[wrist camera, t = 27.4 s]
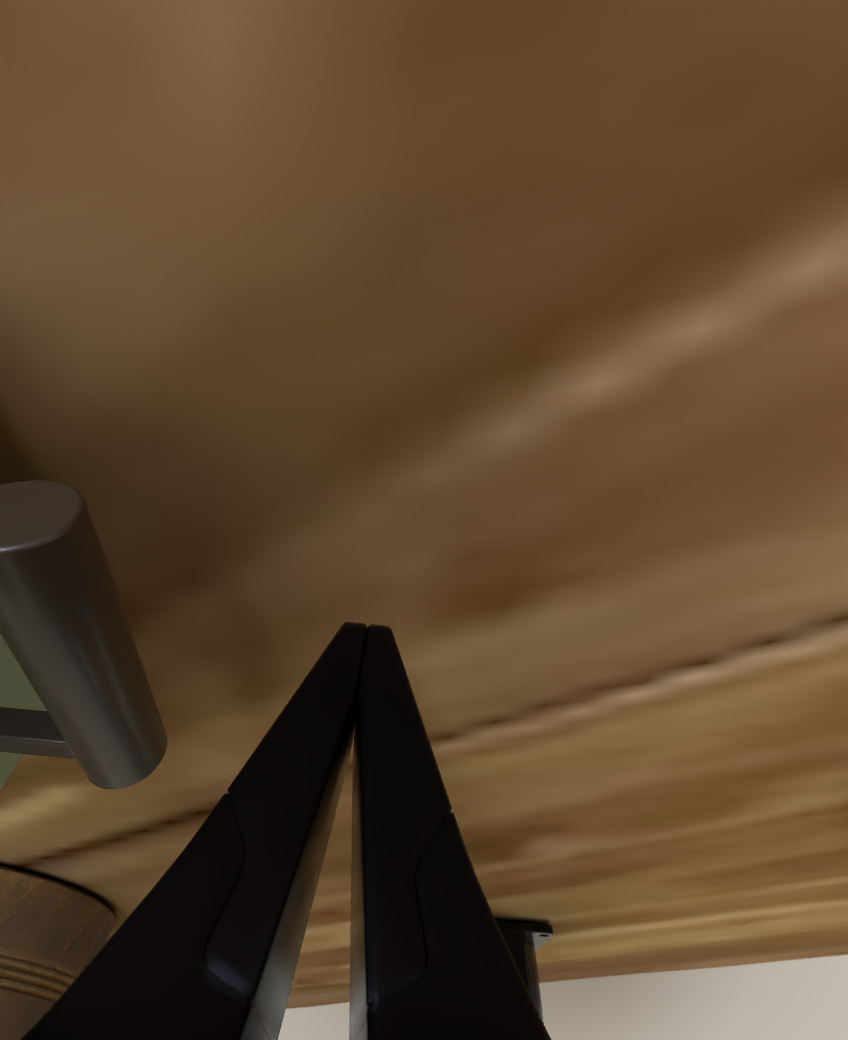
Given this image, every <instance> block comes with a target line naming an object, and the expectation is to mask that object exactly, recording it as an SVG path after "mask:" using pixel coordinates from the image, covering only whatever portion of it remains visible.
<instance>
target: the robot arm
mask: <svg viewBox="0 0 848 1040" xmlns="http://www.w3.org/2000/svg"><path fill="white" fill-rule="evenodd" d="M354 731H355V733H354ZM353 737H354V744H353V789H352V866H351V944H350V1021H349V1022H350V1023H349V1025H350V1026H349V1028H350V1029H349V1040H551V1038H550V1036H549V1034H548V1032H547V1030H546V1028H545V1026H544V1023H543V1015H542V1006H541V997H540V989H539V980H538V971H537V962H536V954H535V951H536V950H537V949H538V948H539V947H541V946H542V945H543V944H544V943H545V942H547V941H548V940H549V939H550V938H551V937H552V936H553V929H552V926H551V925H548V924H536V923H522V922H508V921H495V919H494V916H493V914H492V912H491V909H490V907H489V905H488V902H487V900H486V898H485V895H484V893H483V891H482V888H481V886H480V884H479V881H478V879H477V877H476V874H475V872H474V869H473V866H472V863H471V861H470V858H469V855H468V853H467V850H466V847H465V845H464V842H463V839H462V836H461V833H460V830H459V827H458V824H457V821H456V818H455V816H454V813H452V812H451V809H452V808H451V804H450V801H449V798H448V795H447V793H446V790H445V787H444V784H443V781H442V778H441V775H440V772H439V769H438V766H437V763H436V760H435V757H434V754H433V751H432V748H431V745H430V742H429V739H428V736H427V733H426V730H425V727H424V724H423V721H422V718H421V715H420V712H419V709H418V706H417V703H416V700H415V697H414V695H413V692H412V689H411V686H410V683H409V680H408V677H407V674H406V671H405V668H404V665H403V662H402V659H401V656H400V653H399V650H398V647H397V644H396V641H395V638H394V635H393V632H392V630H391V628H390V627H389V626H384V625H374V624H371V625H369V626H368V628H367V626H366V624H364V623H356V622H345V623H344V624H343V625H342V626H341V628H340V629H339V630H338V632H337V633H336V635H335V636H334V638H333V639H332V640H331V642H330V643H329V645H328V646H327V648H326V649H325V651H324V652H323V653H322V655H321V656H320V658H319V659H318V661H317V662H316V663H315V665H314V666H313V668H312V669H311V671H310V672H309V673H308V675H307V676H306V678H305V679H304V681H303V682H302V684H301V685H300V686H299V688H298V689H297V691H296V692H295V694H294V695H293V696H292V698H291V699H290V701H289V702H288V704H287V705H286V706H285V708H284V709H283V711H282V712H281V714H280V715H279V716H278V718H277V719H276V721H275V722H274V724H273V725H272V727H271V728H270V729H269V731H268V732H267V734H266V735H265V737H264V738H263V739H262V741H261V742H260V744H259V745H258V747H257V748H256V749H255V751H254V752H253V754H252V755H251V757H250V758H249V759H248V761H247V762H246V764H245V765H244V767H243V768H242V770H241V771H240V772H239V774H238V775H237V777H236V778H235V780H234V781H233V782H232V784H231V785H230V787H229V788H228V794H227V793H226V794H224V795H223V796H222V798H221V799H220V801H219V802H218V803H217V805H216V806H215V808H214V809H213V811H212V812H211V814H210V815H209V816H208V818H207V819H206V820H205V822H204V823H203V825H202V826H201V827H200V829H199V830H198V831H197V833H196V834H195V835H194V837H193V838H192V839H191V841H190V842H189V844H188V845H187V846H186V848H185V849H184V850H183V852H182V853H181V854H180V855H179V857H178V858H177V859H176V860H175V862H174V863H173V864H172V865H171V867H170V868H169V869H168V870H167V871H166V873H165V874H164V875H163V876H162V878H161V879H160V880H159V881H158V883H157V884H156V885H155V886H154V887H153V889H152V890H151V891H150V892H149V893H148V895H147V896H146V897H145V898H144V899H143V901H142V902H141V903H140V904H139V905H138V906H137V908H136V909H135V910H134V911H133V912H132V913H131V915H130V916H129V917H128V918H127V919H126V920H125V922H124V923H123V924H122V925H121V926H120V928H119V929H118V930H117V931H116V932H115V933H114V935H113V936H112V937H111V938H110V939H109V940H108V942H107V943H106V944H105V945H104V946H103V947H102V949H101V950H100V951H99V952H98V953H97V955H96V956H95V957H94V958H93V959H92V960H91V962H90V963H89V964H88V965H87V966H86V967H85V969H84V970H83V971H82V972H81V973H80V974H79V976H78V977H77V978H76V979H75V980H74V981H73V983H72V984H71V985H70V986H69V987H68V989H67V990H66V991H65V992H64V993H63V994H62V995H61V996H60V998H59V999H58V1000H57V1001H56V1002H55V1003H54V1004H53V1006H52V1007H51V1008H50V1009H49V1010H48V1011H47V1012H46V1013H45V1014H44V1015H43V1016H42V1017H41V1018H40V1020H39V1021H38V1022H37V1023H36V1024H35V1025H34V1026H33V1027H32V1028H31V1029H30V1030H29V1031H28V1032H27V1033H26V1034H25V1035H24V1036H23V1037H22V1038H21V1039H20V1040H278V1037H279V1033H280V1029H281V1025H282V1021H283V1017H284V1013H285V1009H286V1005H287V1001H288V997H289V993H290V989H291V985H292V981H293V978H294V974H295V970H296V966H297V962H298V958H299V954H300V950H301V946H302V942H303V938H304V934H305V930H306V926H307V922H308V918H309V915H310V911H311V907H312V903H313V899H314V895H315V891H316V887H317V883H318V879H319V875H320V871H321V867H322V863H323V859H324V855H325V851H326V848H327V844H328V840H329V836H330V832H331V828H332V824H333V820H334V816H335V812H336V808H337V804H338V800H339V796H340V792H341V788H342V785H343V781H344V777H345V773H346V769H347V765H348V761H349V757H350V752H351V748H352V743H353Z"/></svg>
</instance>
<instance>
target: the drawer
mask: <svg viewBox="0 0 848 1040" xmlns="http://www.w3.org/2000/svg"><path fill="white" fill-rule="evenodd" d="M166 747H167V735H166V732H165V729H164V726H163V723H162V720H161V717H160V714H159V712H158V709H157V706H156V703H155V700H154V697H153V694H152V691H151V689H150V686H149V683H148V680H147V677H146V674H145V671H144V668H143V666H142V663H141V660H140V657H139V654H138V651H137V648H136V645H135V642H134V640H133V637H132V634H131V631H130V628H129V625H128V622H127V619H126V617H125V614H124V611H123V608H122V605H121V602H120V599H119V596H118V594H117V591H116V588H115V585H114V582H113V579H112V576H111V573H110V570H109V568H108V565H107V562H106V559H105V556H104V553H103V550H102V547H101V545H100V542H99V539H98V536H97V533H96V530H95V527H94V524H93V522H92V519H91V516H90V513H89V510H88V507H87V504H86V501H85V499H84V497H83V496H82V495H81V494H80V493H79V492H78V491H76V490H75V489H74V488H72V487H70V486H68V485H66V484H63V483H59V482H54V481H46V480H28V481H18V482H12V483H7V484H3V485H0V789H1V788H2V786H3V785H4V783H5V782H6V780H7V779H8V777H9V776H10V774H11V773H12V771H13V769H14V768H15V766H16V765H17V763H18V762H19V760H20V759H21V757H22V756H23V754H29V755H41V756H52V757H63V758H76V759H77V761H78V763H79V764H80V766H81V768H82V769H83V771H84V773H85V774H86V776H87V778H88V779H89V780H90V781H91V782H92V783H93V784H94V785H96V786H98V787H100V788H104V789H121V788H126V787H129V786H132V785H134V784H136V783H138V782H140V781H141V780H143V779H144V778H146V777H147V776H148V775H149V774H151V773H152V772H153V771H154V770H155V768H156V767H157V766H158V765H159V763H160V762H161V760H162V758H163V756H164V754H165V751H166Z"/></svg>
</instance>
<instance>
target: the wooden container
mask: <svg viewBox="0 0 848 1040" xmlns="http://www.w3.org/2000/svg"><path fill="white" fill-rule="evenodd" d="M114 921H115V920H114V915H113V913H112V912H111V911H110V910H109V909H108V908H107V907H106V906H105V905H104V904H103V903H101V902H100V901H98V900H97V899H95V898H94V897H92V896H90V895H88V894H86V893H84V892H82V891H80V890H78V889H76V888H73V887H71V886H68V885H65V884H63V883H60V882H57V881H54V880H51V879H48V878H45V877H42V876H39V875H35V874H32V873H28V872H24V871H20V870H16V869H13V868H8V867H4V866H0V1040H20V1039H21V1038H22V1037H23V1036H24V1035H25V1034H26V1033H27V1032H28V1031H29V1030H30V1029H31V1028H32V1027H33V1026H34V1025H35V1024H36V1023H37V1022H38V1021H39V1020H40V1018H41V1017H42V1016H43V1015H44V1014H45V1013H46V1012H47V1011H48V1010H49V1009H50V1008H51V1007H52V1006H53V1004H54V1003H55V1002H56V1001H57V1000H58V999H59V998H60V996H61V995H62V994H63V993H64V992H65V991H66V990H67V989H68V987H69V986H70V985H71V984H72V983H73V981H74V980H75V979H76V978H77V977H78V976H79V974H80V973H81V972H82V971H83V970H84V969H85V967H86V966H87V965H88V964H89V963H90V962H91V960H92V959H93V958H94V957H95V956H96V955H97V953H98V952H99V951H100V950H101V949H102V947H103V946H104V945H105V944H106V943H107V940H108V938H109V935H110V933H111V930H112V927H113V925H114Z"/></svg>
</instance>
